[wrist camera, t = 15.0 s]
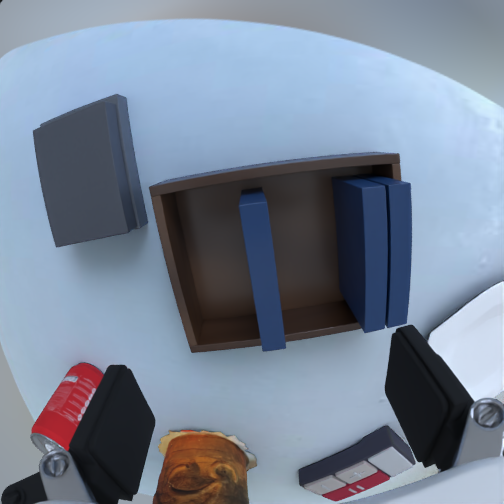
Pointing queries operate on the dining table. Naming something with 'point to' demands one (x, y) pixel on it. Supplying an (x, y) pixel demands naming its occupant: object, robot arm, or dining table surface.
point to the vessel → (203, 469)
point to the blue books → (374, 247)
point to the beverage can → (66, 408)
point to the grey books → (90, 173)
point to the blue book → (262, 267)
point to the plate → (475, 343)
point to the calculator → (359, 466)
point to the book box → (234, 252)
